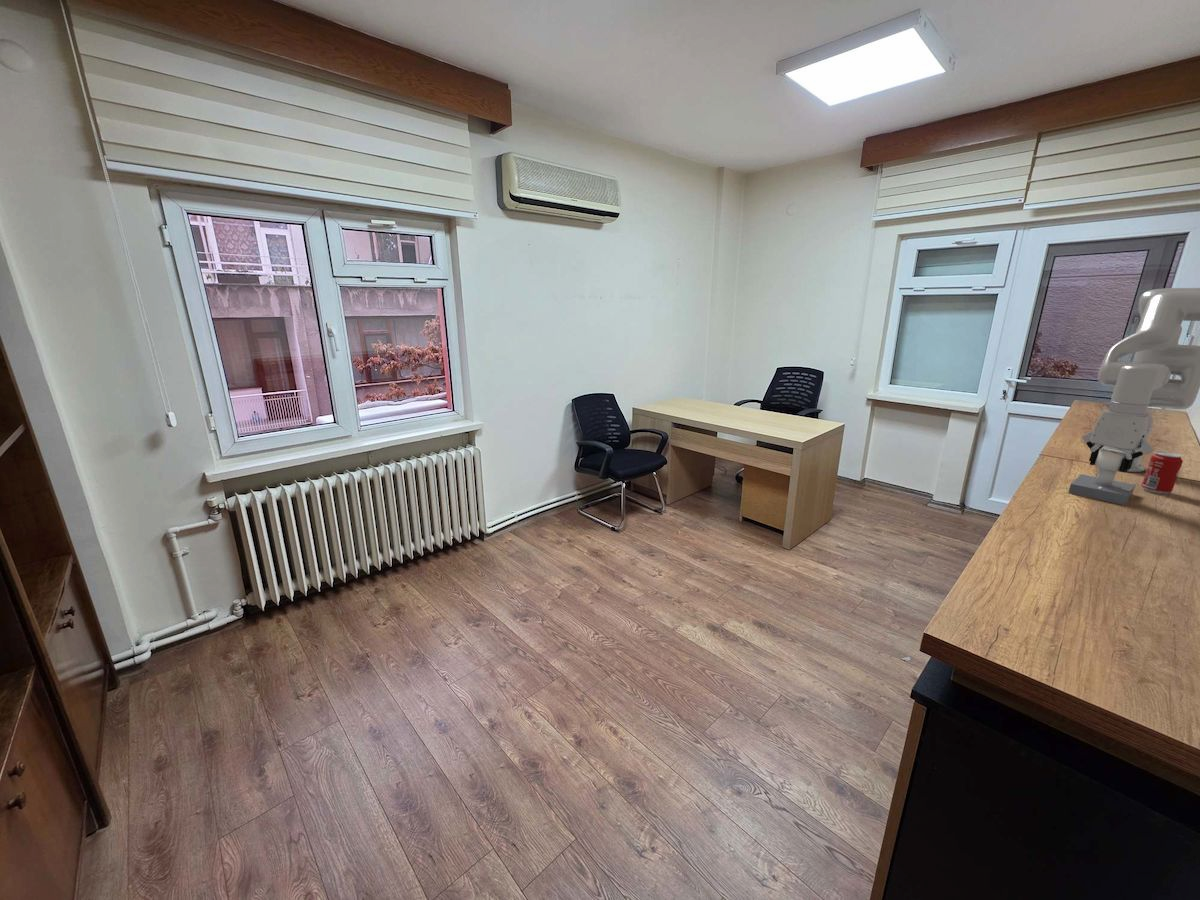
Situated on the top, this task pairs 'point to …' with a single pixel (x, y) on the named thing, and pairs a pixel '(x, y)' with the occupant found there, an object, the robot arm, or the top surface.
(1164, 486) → the beverage can
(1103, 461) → the white rounded dome
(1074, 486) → the stub base
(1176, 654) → the top surface
